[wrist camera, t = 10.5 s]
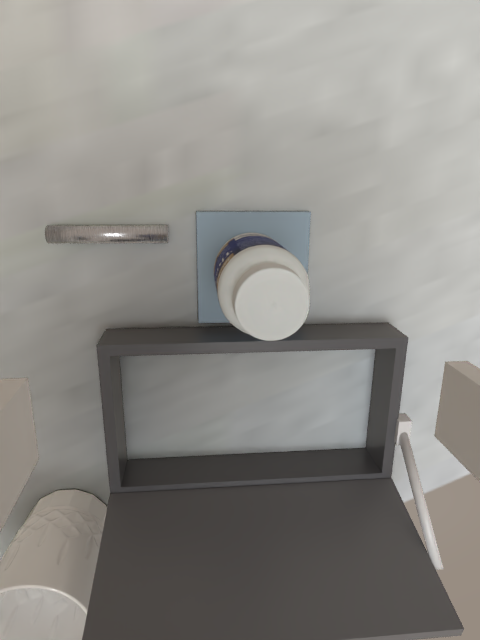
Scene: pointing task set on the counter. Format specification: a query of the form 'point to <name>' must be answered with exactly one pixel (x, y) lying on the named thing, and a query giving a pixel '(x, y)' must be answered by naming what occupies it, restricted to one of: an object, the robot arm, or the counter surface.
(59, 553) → the white cup
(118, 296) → the counter surface
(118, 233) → the rod
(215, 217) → the mat
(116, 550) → the case
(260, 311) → the pill bottle
